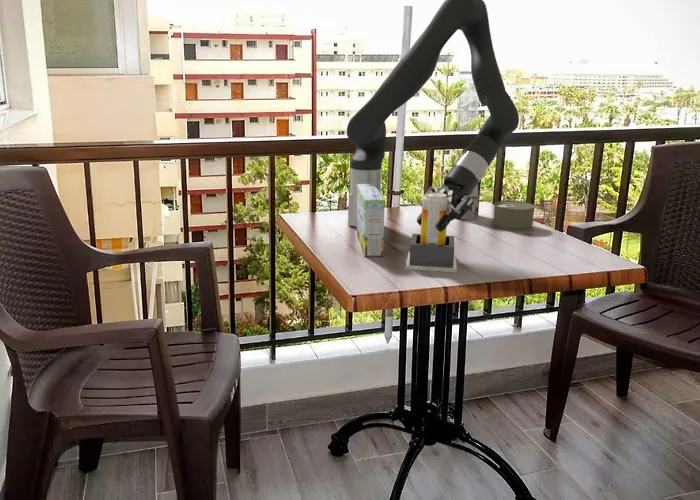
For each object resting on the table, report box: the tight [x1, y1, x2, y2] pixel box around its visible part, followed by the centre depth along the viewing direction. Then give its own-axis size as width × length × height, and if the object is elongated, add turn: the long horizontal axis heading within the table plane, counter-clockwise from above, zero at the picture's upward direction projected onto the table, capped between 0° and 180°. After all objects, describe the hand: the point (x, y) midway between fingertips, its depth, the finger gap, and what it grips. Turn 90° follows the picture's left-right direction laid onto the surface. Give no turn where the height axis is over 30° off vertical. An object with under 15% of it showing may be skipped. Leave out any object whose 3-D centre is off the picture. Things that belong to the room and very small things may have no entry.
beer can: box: [420, 192, 448, 245], centre depth 160 cm, size 6×6×15 cm
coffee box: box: [458, 179, 482, 221], centre depth 210 cm, size 9×6×16 cm
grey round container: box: [492, 200, 536, 232], centre depth 200 cm, size 12×12×7 cm
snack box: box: [356, 184, 386, 258], centre depth 175 cm, size 21×6×15 cm, turn 5°
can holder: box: [405, 233, 458, 273], centre depth 162 cm, size 12×12×6 cm
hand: (428, 226), depth 159 cm, fingers closed on beer can, 6 cm apart
